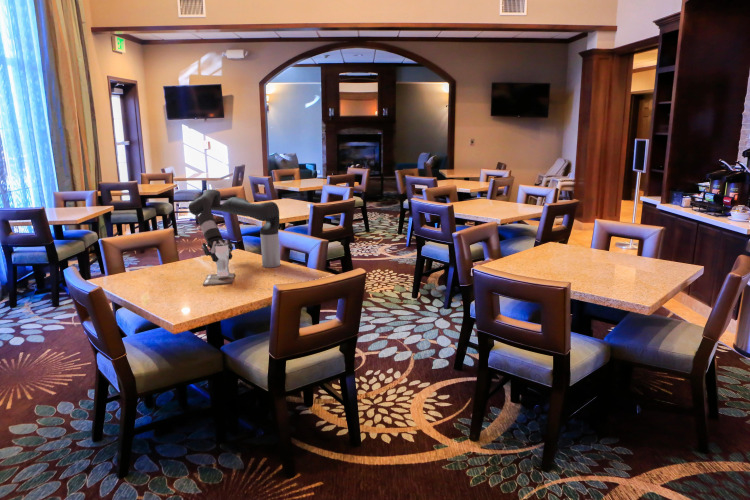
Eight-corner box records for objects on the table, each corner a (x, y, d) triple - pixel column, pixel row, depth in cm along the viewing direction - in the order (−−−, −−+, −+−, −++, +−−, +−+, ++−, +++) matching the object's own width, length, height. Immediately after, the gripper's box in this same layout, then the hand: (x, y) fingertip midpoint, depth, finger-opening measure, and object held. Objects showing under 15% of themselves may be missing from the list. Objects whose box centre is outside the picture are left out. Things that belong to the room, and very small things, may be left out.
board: (207, 276, 266) (207, 274, 266) (234, 274, 268) (234, 272, 268) (202, 285, 250) (202, 283, 250) (231, 284, 252) (231, 282, 252)
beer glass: (212, 276, 257) (210, 245, 254) (222, 272, 263) (219, 242, 260) (224, 277, 255) (222, 246, 251) (233, 274, 261) (231, 243, 257)
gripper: (223, 234, 269) (235, 261, 263) (195, 238, 260) (207, 267, 254) (227, 225, 264) (239, 253, 258) (198, 229, 255) (210, 258, 249)
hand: (223, 259), depth 256 cm, fingers closed on beer glass, 7 cm apart
